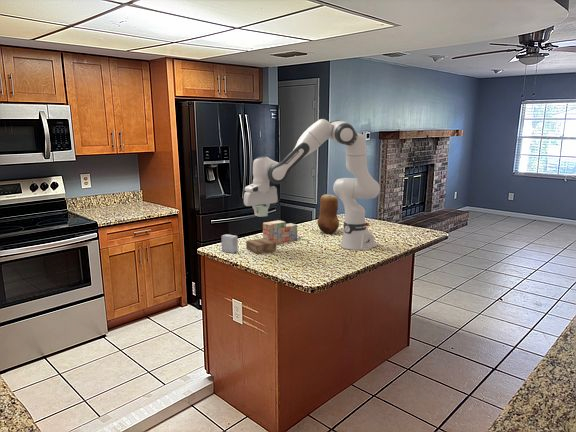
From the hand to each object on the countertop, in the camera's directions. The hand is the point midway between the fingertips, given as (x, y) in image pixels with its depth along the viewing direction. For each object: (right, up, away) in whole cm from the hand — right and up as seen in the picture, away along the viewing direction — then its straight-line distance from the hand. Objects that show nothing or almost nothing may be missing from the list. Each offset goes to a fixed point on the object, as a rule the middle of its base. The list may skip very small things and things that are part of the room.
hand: (261, 212), depth 227 cm
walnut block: (0, -21, +4) cm, 21 cm away
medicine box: (-17, -21, +1) cm, 27 cm away
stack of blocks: (+10, -17, +23) cm, 30 cm away
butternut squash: (+40, -13, +46) cm, 62 cm away
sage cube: (0, -2, 0) cm, 2 cm away
